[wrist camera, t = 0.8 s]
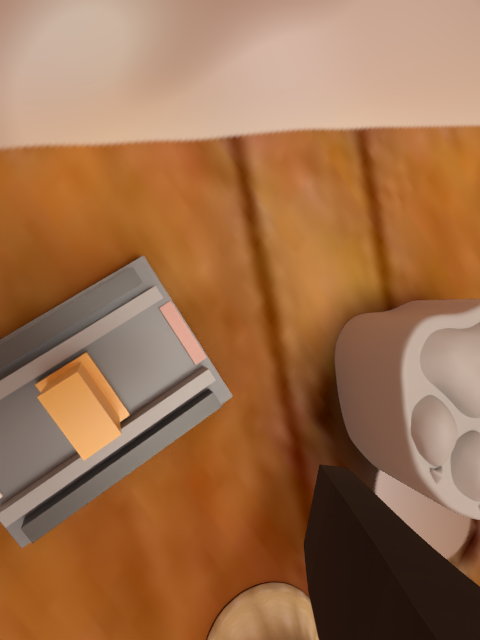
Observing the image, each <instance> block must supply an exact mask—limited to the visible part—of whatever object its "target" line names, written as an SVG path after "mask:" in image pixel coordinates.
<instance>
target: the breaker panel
mask: <svg viewBox="0 0 480 640" xmlns="http://www.w3.org/2000/svg"><path fill="white" fill-rule="evenodd" d="M86 351H87V352H88V353H89V355H90V356H91V357H92V359H93V360H94V362H95V363H96V365H97V366H98V367H99V369H100V370H101V372H102V373H103V375H104V376H105V378H106V379H107V380H108V382H109V383H110V385H111V386H112V388H113V389H114V391H115V392H116V393H117V395H118V396H119V398H120V399H121V401H122V402H123V404H124V405H125V406H126V408H127V409H128V411H129V413H130V416H128V417H127V418H125V419H124V420H122V421H121V422H120V425H121V432H122V435H120V436H119V437H117V438H116V439H115V440H113V441H112V442H110V443H109V444H107V445H106V446H104V447H103V448H102V449H100V450H99V451H97V452H96V453H94V454H93V455H92V456H90V457H89V458H87V459H86V460H83V459H82V458H81V456H80V455H79V454H78V452H77V451H76V450H75V448H74V447H73V446H72V444H71V443H70V441H69V440H68V439H67V437H66V436H65V435H64V433H63V432H62V431H61V429H60V428H59V427H58V425H57V424H56V422H55V421H54V420H53V418H52V417H51V416H50V414H49V413H48V412H47V410H46V409H45V408H44V406H43V405H42V403H41V402H40V401H39V399H38V398H37V397H38V395H39V394H40V393H41V392H40V391H39V390H38V388H37V387H36V386H35V384H36V383H37V382H38V381H40V380H41V379H43V378H45V377H46V376H48V375H49V374H51V373H53V372H54V371H56V370H57V369H59V368H61V367H62V366H64V365H65V364H67V363H69V362H70V361H72V360H73V359H75V358H77V357H78V356H80V355H81V354H83V353H84V352H86ZM231 397H233V396H232V394H231V393H230V391H229V389H228V388H227V386H226V385H225V383H224V381H223V380H222V378H221V377H220V375H219V374H218V372H217V370H216V369H215V367H214V366H213V364H212V363H211V361H210V359H209V358H208V356H207V355H206V353H205V351H204V350H203V348H202V347H201V345H200V344H199V342H198V340H197V339H196V337H195V336H194V334H193V333H192V331H191V329H190V328H189V326H188V325H187V323H186V321H185V320H184V318H183V317H182V315H181V314H180V312H179V310H178V309H177V307H176V306H175V304H174V303H173V301H172V299H171V298H170V296H169V295H168V293H167V292H166V290H165V288H164V287H163V285H162V284H161V282H160V280H159V279H158V277H157V276H156V274H155V273H154V271H153V269H152V268H151V266H150V265H149V263H148V262H147V260H146V258H145V257H144V255H143V256H142V257H140V258H138V259H136V260H135V261H133V262H131V263H130V264H128V265H126V266H125V267H123V268H121V269H119V270H118V271H116V272H114V273H113V274H111V275H109V276H107V277H106V278H104V279H102V280H101V281H99V282H97V283H96V284H94V285H92V286H90V287H89V288H87V289H85V290H84V291H82V292H80V293H79V294H77V295H75V296H73V297H72V298H70V299H68V300H67V301H65V302H63V303H61V304H60V305H58V306H56V307H55V308H53V309H51V310H50V311H48V312H46V313H44V314H43V315H41V316H39V317H38V318H36V319H34V320H33V321H31V322H29V323H27V324H26V325H24V326H22V327H21V328H19V329H17V330H15V331H14V332H12V333H10V334H9V335H7V336H5V337H4V338H2V339H0V522H1V523H2V524H3V526H4V527H5V528H6V529H7V530H8V532H9V533H10V534H11V535H12V537H13V538H14V539H15V540H16V542H17V543H18V544H19V545H20V547H21V548H23V547H25V546H26V545H27V544H29V543H30V542H32V543H34V542H35V541H36V540H38V539H39V538H40V537H42V536H43V535H45V534H46V533H47V532H49V531H50V530H52V529H53V528H54V527H56V526H57V525H58V524H60V523H61V522H63V521H64V520H65V519H67V518H68V517H70V516H71V515H72V514H74V513H75V512H76V511H78V510H79V509H81V508H82V507H83V506H85V505H86V504H88V503H89V502H90V501H92V500H93V499H94V498H96V497H97V496H99V495H100V494H101V493H103V492H104V491H106V490H107V489H108V488H110V487H111V486H112V485H114V484H115V483H117V482H118V481H119V480H121V479H122V478H124V477H125V476H126V475H128V474H129V473H131V472H132V471H133V470H135V469H136V468H137V467H139V466H140V465H142V464H143V463H144V462H146V461H147V460H149V459H150V458H151V457H153V456H154V455H155V454H157V453H158V452H160V451H161V450H162V449H164V448H165V447H167V446H168V445H169V444H171V443H172V442H173V441H175V440H176V439H178V438H179V437H180V436H182V435H183V434H185V433H186V432H187V431H189V430H190V429H191V428H193V427H194V426H196V425H197V424H198V423H200V422H201V421H203V420H204V419H205V418H207V417H208V416H209V415H211V414H212V413H214V412H215V411H216V410H218V409H219V408H221V407H222V404H223V403H225V402H226V401H227V400H229V399H230V398H231Z"/></svg>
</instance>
